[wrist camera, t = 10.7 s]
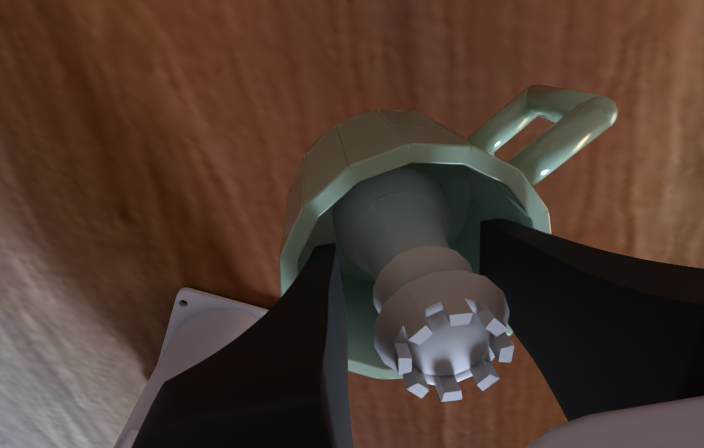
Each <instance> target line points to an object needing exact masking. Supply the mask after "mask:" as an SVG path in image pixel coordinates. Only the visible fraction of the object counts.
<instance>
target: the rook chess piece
mask: <svg viewBox="0 0 704 448" xmlns="http://www.w3.org/2000/svg"><path fill="white" fill-rule="evenodd" d="M332 210H333V224H334V230H335V232H336V234H337V240H338V242H339V244H340V245H341V247H342V249H343V251H344V252H345V254H346V256H347V257H348V258H349V260H350V261H352V262H353V263H355V264H356V265H357V266H359V267H360V268H361V269H363V270H364V271H365V272H369V273H370V274H371V275H372V276H373V278H374V280H375V284H374V287H373V302H374V306H375V308H376V309H377V311H378V313H379V315H378V317H377V319H376V321H375V323H374V347H375V349H376V351H377V352H378V354H379V356H380V357H381V359H382V361H383V362H384V364H386V365H387V366H389V367H391V368H392V369H394V370H395V371H397V372H398V375H401V374H402V375H403V378H404V381H405V385H406V389H407V390H409V391H410V392H412V393H414V394H415V395H417V396H419V397H420V398H423V396H424V395H425V394H426V393H427V392H428V391H429V388H428V385H427V384H431V385H435V386H436V389H437V392H438V395H439V397H440V400H441V402H444V401H453V400H461V399H462V394H461V390H460V387H459V385H458V383H457V382H459V381H461V380H464V379H466V378H468V377H471V376H473V377H474V379H475V381H476V383H477V385H478V386H479V387H480V389H481V390H482V391H484V390H485V389H486V388H488V387H489V386H490V385H492V384H493V383H494V382H496V381H497V380H498V379H500V378H499V376H498V374H497V373H496V371H495V369H494V367H493V366H492V364H491V361H492V360H493V358H494V357H496V358H497V360H498V362H511V359H512V354H513V349H514V344H513V343H512V341H511V340H510V338H509V337H508V335H507V334H506V331H507V330H509V329H508V328H507V323H508V318H509V312H510V311H509V308H508V305H507V302H506V299H505V296H504V293H503V291H502V290H501V289H500V288H498V287H497V286H496V285H495V284H494V283H493V282H492V281H490V280H489V279H488V278H487V277H486V276H482V275H478V274H475V273H473V271H472V269H471V266H470V263H469V262H468V261H467V260H466V259H465V258H464V257H463V256H461V255H460V254H459V253H458V252H457V251H455V250H452V249H450V248H449V245H448V242H447V237H448V235H449V228H450V215H451V214H450V208H449V206H448V203H447V200H446V198H445V195H444V192H443V190H442V189H441V188H440V187H439V185H438V183H437V181H436V180H435V179H434V178H433V177H432V176H431V175H430V174H429V173H428V172H427V171H426V170H425V169H424V168H423V167H421V166H418V165H416V164H413V163H409V164H406V165H404V166H401V167H398V168H396V169H393V170H390V171H387V172H385V173H382V174H379V175H376V176H374V177H371V178H368V179H365V180H363V181H360V182H358V183H357V184H356V185H355V186H353V187H352V188H351V189H350V190H349V191H348V192H347V193H345V194H344V195H343V196H342V197H341V198H340V199H339V200H338V201H336V202H335V203H334V206H333V209H332Z"/></svg>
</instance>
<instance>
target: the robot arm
mask: <svg viewBox="0 0 704 448" xmlns="http://www.w3.org/2000/svg"><path fill="white" fill-rule="evenodd" d="M479 275H482V276H486V277H487V278H488V279H489V280H490V281H492V282H493V283H494V284H495V285H496V286H497V287H498V288H500V289H501V290H502V291H503V293H504V296H505V299H506V302H507V305H508V308H509V311H510V312H509V318H508V323H507V324H508V325H509V326H510V328H511V329H512V331H513V332H514V333H515V335H516V336H517V337H518V339H519V340H520V342H521V343H522V344H523V346H524V347H525V349H526V350H527V351H528V353H529V354H530V356H531V357H532V358H533V360H534V362H535V363H536V365H537V366H538V368H539V369H540V371H541V373H542V374H543V376H544V378H545V380H546V381H547V383H548V385H549V387H550V388H551V390H552V392H553V394H554V395H555V397H556V399H557V401H558V403H559V405H560V406H561V408H562V410H563V412H564V414H565V416H566V418H567V420H568V422H565V423H563V424H560V425H557V426H554V427H552V428H550V429H549V430H548V431H547V432H545V433H544V434H543V435H541V436H540V437H539V438H538V439H536V440H535V441H534V442H532V443H531V444H530V445H528V446H527V447H526V448H704V269H702V268H694V267H686V266H680V265H674V264H667V263H661V262H655V261H649V260H644V259H639V258H634V257H630V256H625V255H621V254H616V253H612V252H608V251H604V250H600V249H596V248H593V247H589V246H586V245H583V244H579V243H576V242H572V241H569V240H566V239H563V238H560V237H557V236H554V235H551V234H548V233H545V232H542V231H540V230H537V229H534V228H531V227H528V226H525V225H522V224H519V223H516V222H513V221H510V220H506V219H501V218H497V219H491V220H484V221H480V261H479ZM181 300H185V301H186V302H187V303H183V302H182V301H181ZM114 448H353V439H352V429H351V419H350V409H349V398H348V322H347V314H346V306H345V298H344V291H343V285H342V279H341V273H340V267H339V261H338V255H337V249H336V243H332V244H325V245H318V246H316V247H315V248H314V249H313V251H312V253H311V255H310V256H309V258H308V260H307V262H306V263H305V265H304V267H303V268H302V270H301V271H300V273H299V274H298V276H297V277H296V279H295V280H294V281H293V283H292V284H291V285H290V287H289V288H288V289H287V291H286V292H285V293H284V294H283V296H282V297H281V298H280V299H279V300H278V302H277V303H276V304H275V305H274V306H273V307H272V308H271V309H270V310H267V309H264V308H260V307H257V306H253V305H249V304H246V303H242V302H239V301H235V300H231V299H228V298H224V297H220V296H217V295H213V294H210V293H206V292H202V291H199V290H195V289H192V288H187V287H184V288H181V289H180V290H179V292H178V293H177V296H176V299H175V303H174V307H173V310H172V314H171V317H170V321H169V324H168V328H167V332H166V335H165V339H164V342H163V346H162V349H161V353H160V357H159V360H158V364H157V366H156V368H155V370H154V371H153V373H152V375H151V377H150V379H149V381H148V383H147V385H146V387H145V389H144V391H143V392H142V394H141V396H140V398H139V400H138V402H137V404H136V406H135V408H134V410H133V412H132V414H131V415H130V417H129V419H128V421H127V423H126V425H125V427H124V429H123V431H122V433H121V435H120V436H119V438H118V440H117V442H116V444H115V446H114Z"/></svg>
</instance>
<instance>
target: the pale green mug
mask: <svg viewBox="0 0 704 448" xmlns="http://www.w3.org/2000/svg"><path fill="white" fill-rule="evenodd" d="M617 116H618V107H617V104H616V103H615V101H614V100H613V99H611V98H609V97H607V96H603V95H598V94H592V93H586V92H580V91H575V90H569V89H563V88H557V87H552V86H546V85H540V84H536V85H532V86H530V87H528V88H526V89H525V90H524V91H523V92H522V93H520V94H519V95H518V96H517V97H516V98H514V99H513V100H512V101H511V102H510V103H508V104H507V105H506V106H505V107H504V108H503V109H501V110H500V111H499V112H498V113H497V114H495V115H494V116H493V117H492V118H491V119H489V120H488V121H487V122H486V123H485V124H483V125H482V126H481V127H480V128H479V129H478V130H476V131H475V132H474V133H473V134H472V135H470V136H469V137H468V138H466V137H465V136H463V135H461V134H460V133H458V132H456V131H455V130H453V129H451V128H449V127H447V126H445V125H443V124H441V123H439V122H437V121H436V120H434V119H432V118H430V117H428V116H426V115H424V114H422V113H418V112H412V111H408V110H400V109H380V110H374V111H367V112H364V113H361V114H358V115H354V116H352V117H350V118H348V119H346V120H343V121H341V122H340V123H338V124H337V125H335V126H333V127H332V128H330V129H329V130H328V131H326V132H325V133H324V134H323V135H322V136H320V137H319V138H318V139H317V141H316V142H315V143H314V144H313V145H312V146H311V147H310V148H309V150H308V151H307V153H306V154H305V156H304V157H303V159H302V161H301V162H300V164H299V166H298V168H297V171H296V174H295V176H294V179H293V183H292V185H291V187H290V190H289V195H288V202H287V209H286V216H285V223H284V230H283V237H282V244H281V251H280V290H281V297H282V296H283V294H284V293H285V292H286V291H287V289H288V288H289V287H290V285H291V284H292V283H293V281H294V280H295V279H296V277H297V276H298V274H299V273H300V271H301V270H302V268H303V267H304V265H305V263H306V262H307V260H308V258H309V256H310V255H311V253H312V251H313V249H314V248H315V247H316V246H318V245H325V244H332V243H336V249H337V255H338V261H339V267H340V273H341V279H342V285H343V291H344V298H345V306H346V314H347V322H348V371H351V372H355V373H358V374H362V375H366V376H369V377H373V378H377V379H404V378H403V375H402V374H401V375H398V372H397V371H395V370H394V369H392V368H391V367H389V366H387V365H386V364H384V362H383V361H382V359H381V357H380V356H379V354H378V352H377V351H376V349H375V347H374V323H375V321H376V319H377V317H378V315H379V313H378V311H377V309H376V308H375V306H374V302H373V287H374V284H375V280H374V278H373V276H372V275H371V274H370V273H369V272H365V271H364V270H363V269H361V268H360V267H359V266H357V265H356V264H355V263H353V262H352V261H350V260H349V258H348V257H347V256H346V254H345V252H344V251H343V249H342V247H341V245H340V244H339V242H338V240H337V234H336V232H335V230H334V224H333V210H332V209H333V206H334V203H335V202H336V201H338V200H339V199H340V198H341V197H342V196H343V195H344V194H345V193H347V192H348V191H349V190H350V189H351V188H352V187H353V186H355V185H356V184H357V183H358V182H360V181H363V180H365V179H368V178H371V177H374V176H376V175H379V174H382V173H385V172H387V171H390V170H393V169H396V168H398V167H401V166H404V165H406V164H409V163H413V164H416V165H418V166H421V167H423V168H424V169H425V170H426V171H427V172H428V173H429V174H430V175H431V176H432V177H433V178H434V179H435V180H436V181H437V183H438V185H439V187H440V188H441V189H442V190H443V192H444V195H445V198H446V200H447V203H448V206H449V208H450V214H451V215H450V228H449V235H448V237H447V242H448V245H449V248H450V249H452V250H455V251H457V252H458V253H459V254H460V255H461V256H463V257H464V258H465V259H466V260H467V261H468V262H469V263H470V266H471V269H472V271H473V273H475V274H478V275H479V261H480V221H484V220H491V219H497V218H501V219H506V220H510V221H513V222H516V223H519V224H522V225H525V226H528V227H531V228H534V229H537V230H540V231H542V232H545V233H548V234H551V227H550V218H549V211H548V209H547V207H546V206H545V204H544V203H543V201H542V200H541V198H540V197H539V195H538V194H537V193H536V191H535V190H534V188H533V186H534V185H536V184H537V183H538V182H540V181H541V180H542V179H543V178H545V177H546V176H547V175H549V174H550V173H551V172H553V171H554V170H555V169H556V168H558V167H559V166H560V165H562V164H563V163H564V162H566V161H567V160H568V159H569V158H571V157H572V156H573V155H575V154H576V153H577V152H579V151H580V150H581V149H582V148H584V147H585V146H586V145H588V144H589V143H590V142H592V141H593V140H594V139H595V138H597V137H598V136H599V135H601V134H602V133H603V132H605V131H606V130H607V129H609V128H610V127H611V126H612V125H613V124H614V122H615V121H616V119H617ZM537 117H539V118H542V119H545V120H548V121H551V122H555V124H554V125H552V126H551V127H550V128H549V129H547V130H546V131H545V132H544V133H542V134H541V135H540V136H539V137H537V138H536V139H535V140H534V141H532V142H531V143H530V144H529V145H528V146H526V147H525V148H524V149H523V150H521V151H520V152H519V153H518V154H516V155H515V156H514V157H513V158H511V159H510V160H509V161H508V162H507V161H505V160H503V159H502V158H500V157H498V156H496V155H495V154H493V153H494V152H495V151H496V150H497V149H499V148H500V147H501V146H502V145H504V144H505V143H506V142H507V141H508V140H510V139H511V138H512V137H513V136H515V135H516V134H517V133H518V132H519V131H521V130H522V129H523V128H524V127H526V126H527V125H528V124H529V123H531V122H532V121H533V120H534V119H535V118H537ZM507 328H508V329H509V330H507V331H506V334H507V335H508V337H509V336H510V335H511V334H512V333H513V331H512V329H511V328H510V326H509V325H508V324H507Z"/></svg>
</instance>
